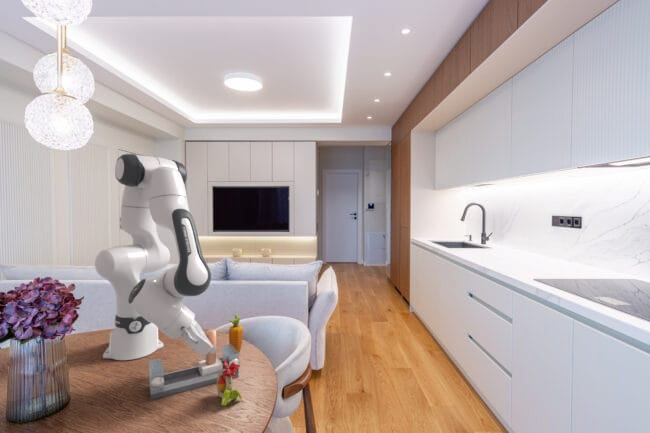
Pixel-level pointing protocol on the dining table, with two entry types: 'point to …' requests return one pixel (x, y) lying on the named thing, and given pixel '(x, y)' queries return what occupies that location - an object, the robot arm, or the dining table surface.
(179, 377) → the rail track
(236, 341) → the carrot
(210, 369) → the carriage
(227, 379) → the decorative toy figure
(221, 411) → the dining table surface
